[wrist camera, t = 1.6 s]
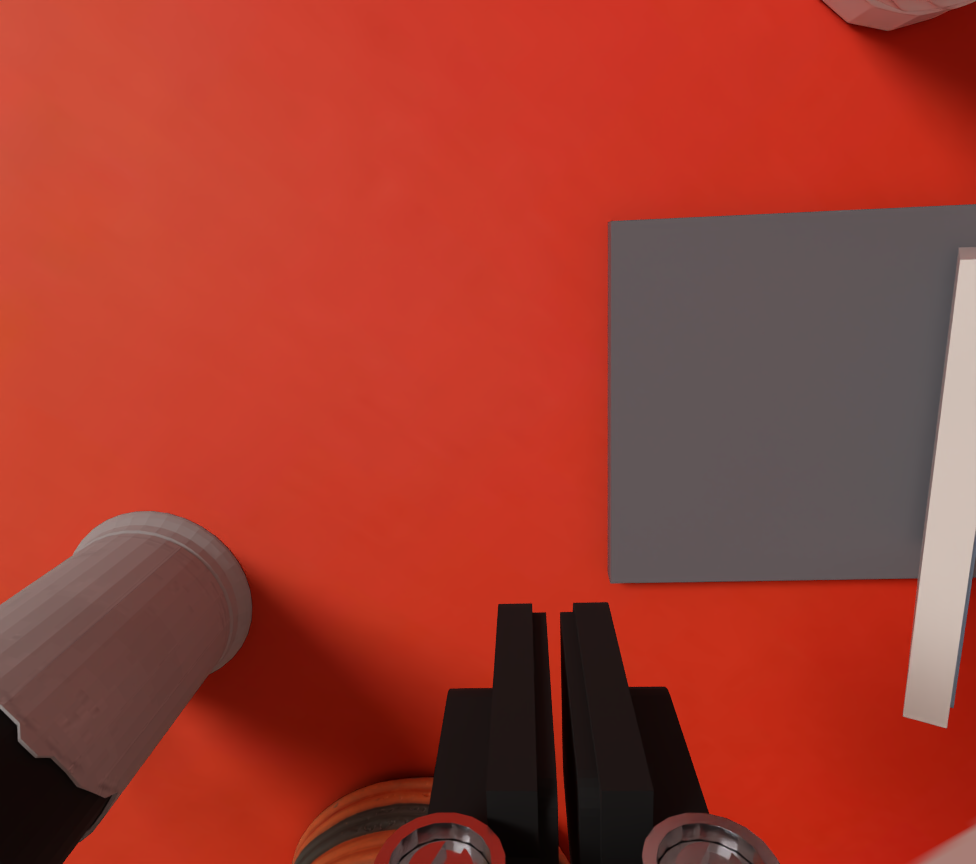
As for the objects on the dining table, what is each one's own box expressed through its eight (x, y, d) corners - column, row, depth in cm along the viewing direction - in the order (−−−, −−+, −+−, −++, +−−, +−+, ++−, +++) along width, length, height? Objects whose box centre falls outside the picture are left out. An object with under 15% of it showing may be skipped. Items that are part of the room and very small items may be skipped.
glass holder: (290, 618, 33) (103, 917, 18) (81, 764, 35) (-226, 1125, 21) (161, 474, 31) (-156, 674, 16) (-46, 639, 34) (-475, 934, 19)
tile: (958, 247, 26) (994, 245, 25) (921, 545, 29) (953, 550, 28) (959, 260, 16) (1020, 258, 15) (902, 716, 19) (951, 729, 18)
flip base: (1317, 189, 26) (1348, 187, 25) (1225, 562, 30) (1249, 572, 29) (607, 222, 27) (611, 221, 26) (607, 573, 31) (610, 583, 30)
